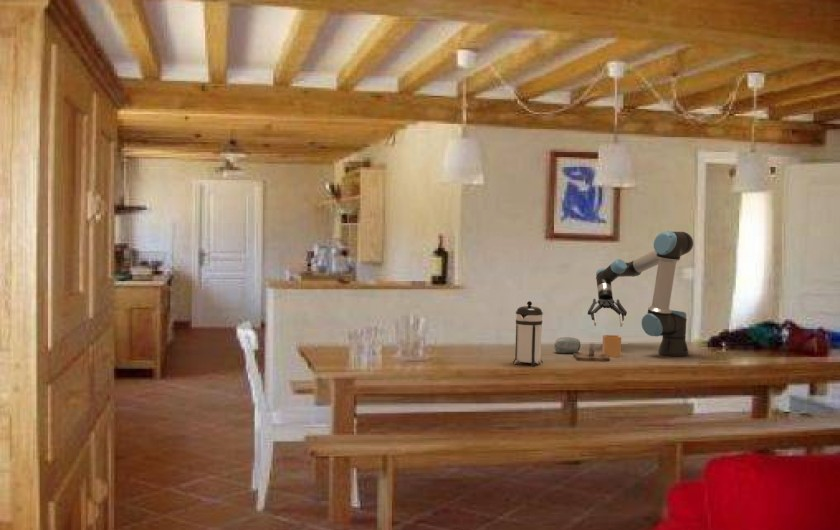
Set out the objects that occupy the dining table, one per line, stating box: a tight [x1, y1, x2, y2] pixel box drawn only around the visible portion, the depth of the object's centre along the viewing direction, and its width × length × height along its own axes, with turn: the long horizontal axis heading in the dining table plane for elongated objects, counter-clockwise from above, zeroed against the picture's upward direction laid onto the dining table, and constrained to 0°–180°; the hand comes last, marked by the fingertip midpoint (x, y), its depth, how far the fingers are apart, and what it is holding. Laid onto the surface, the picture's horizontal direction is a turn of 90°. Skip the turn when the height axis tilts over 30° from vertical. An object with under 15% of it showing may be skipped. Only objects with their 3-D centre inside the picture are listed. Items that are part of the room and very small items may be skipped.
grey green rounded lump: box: [553, 336, 581, 354], centre depth 465 cm, size 14×10×10 cm
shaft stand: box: [573, 343, 611, 362], centre depth 447 cm, size 16×14×8 cm
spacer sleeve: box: [601, 334, 622, 358], centre depth 460 cm, size 8×8×10 cm
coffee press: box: [512, 300, 544, 367], centre depth 427 cm, size 17×16×30 cm
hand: (608, 324), depth 469 cm, fingers open, 13 cm apart
